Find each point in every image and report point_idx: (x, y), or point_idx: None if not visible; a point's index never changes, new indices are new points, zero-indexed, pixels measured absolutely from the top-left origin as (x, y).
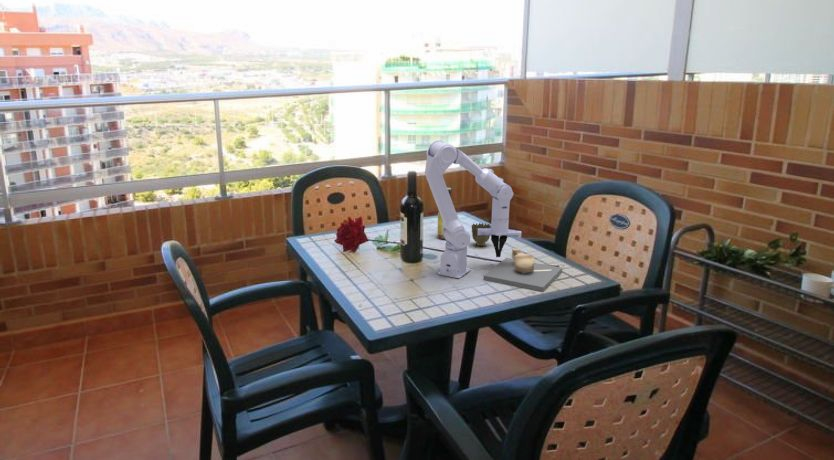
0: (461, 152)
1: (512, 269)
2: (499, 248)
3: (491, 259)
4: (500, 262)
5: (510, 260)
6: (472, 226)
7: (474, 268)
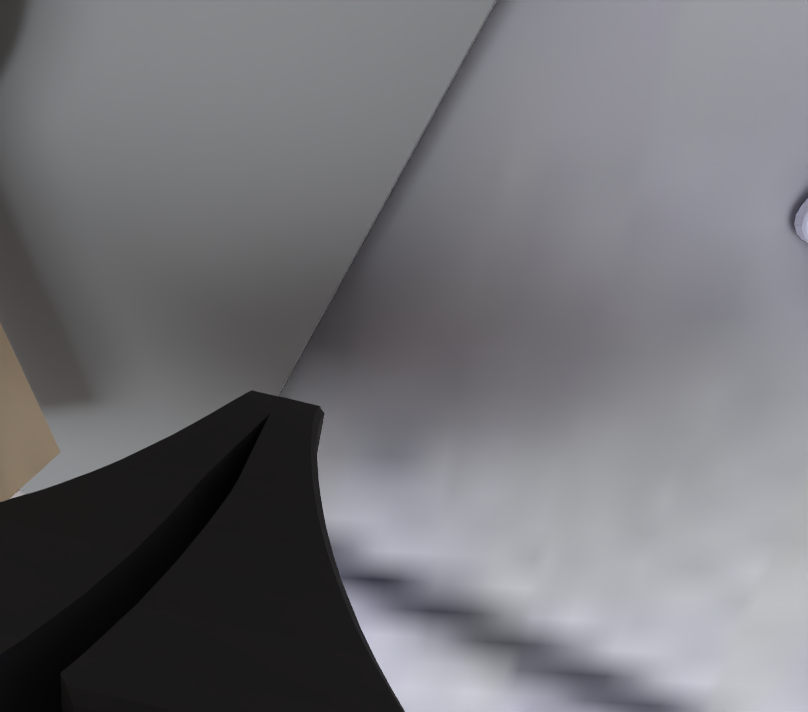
0: None
1: (64, 49)
2: (183, 477)
3: (380, 606)
4: None
5: None
6: None
7: (693, 309)
